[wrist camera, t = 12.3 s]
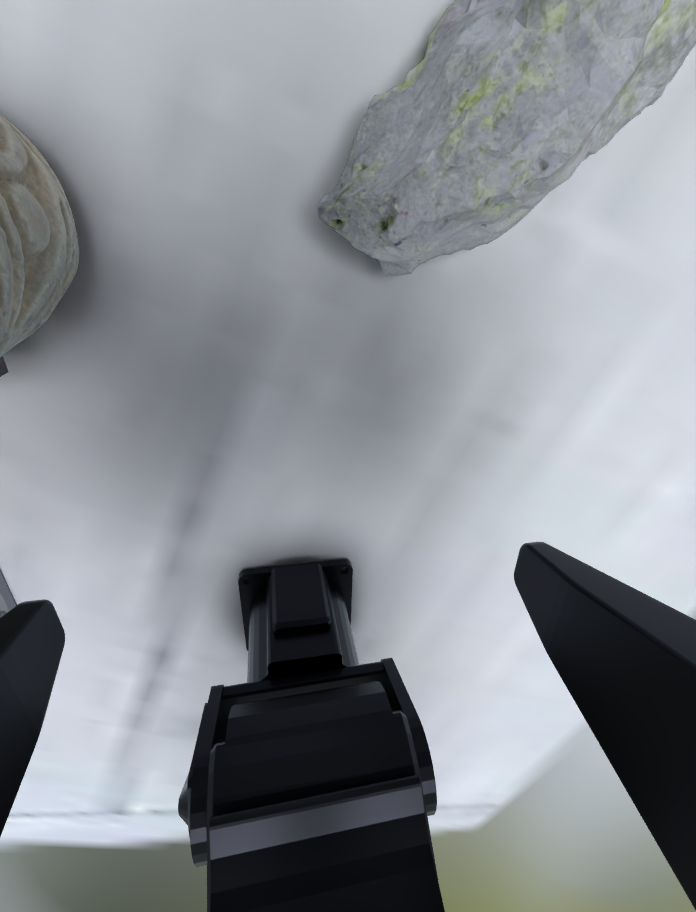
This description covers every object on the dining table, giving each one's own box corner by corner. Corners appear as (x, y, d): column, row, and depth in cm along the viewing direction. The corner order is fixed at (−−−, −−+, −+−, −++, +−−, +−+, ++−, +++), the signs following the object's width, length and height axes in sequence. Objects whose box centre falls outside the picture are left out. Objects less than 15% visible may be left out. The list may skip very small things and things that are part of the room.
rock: (407, 330, 20) (469, 372, 14) (290, 197, 16) (306, 179, 11) (706, 28, 16) (956, -86, 10) (632, -211, 13) (934, -569, 7)
